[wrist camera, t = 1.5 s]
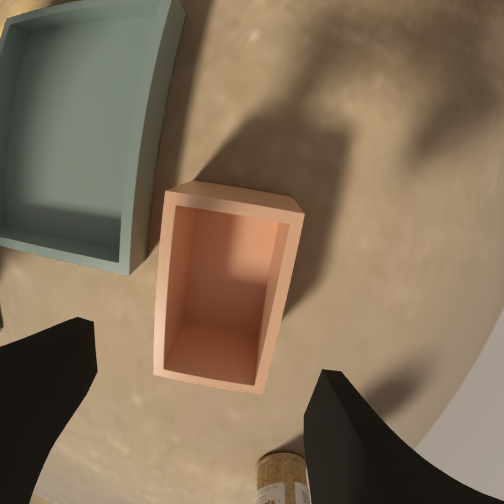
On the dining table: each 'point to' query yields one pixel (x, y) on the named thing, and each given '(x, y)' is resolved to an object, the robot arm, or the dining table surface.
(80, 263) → the base crate
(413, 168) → the dining table surface
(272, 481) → the sprinkles bottle
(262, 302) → the small crate
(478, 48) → the dining table surface
